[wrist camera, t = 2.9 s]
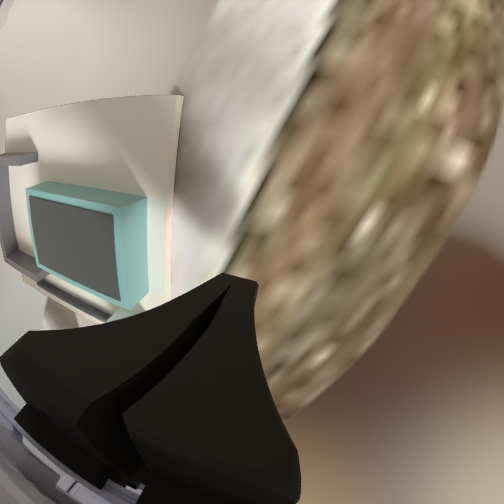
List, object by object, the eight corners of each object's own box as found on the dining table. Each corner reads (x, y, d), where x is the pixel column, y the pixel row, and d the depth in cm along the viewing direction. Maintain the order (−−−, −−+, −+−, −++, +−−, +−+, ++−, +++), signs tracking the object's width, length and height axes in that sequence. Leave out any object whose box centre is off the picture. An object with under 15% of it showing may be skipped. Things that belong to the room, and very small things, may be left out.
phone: (147, 197, 11) (120, 208, 10) (149, 291, 13) (129, 311, 12) (47, 181, 12) (24, 188, 11) (55, 254, 15) (36, 266, 13)
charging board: (184, 96, 10) (155, 89, 8) (173, 350, 16) (156, 374, 14) (12, 118, 12) (-10, 122, 10) (28, 277, 18) (11, 288, 16)
